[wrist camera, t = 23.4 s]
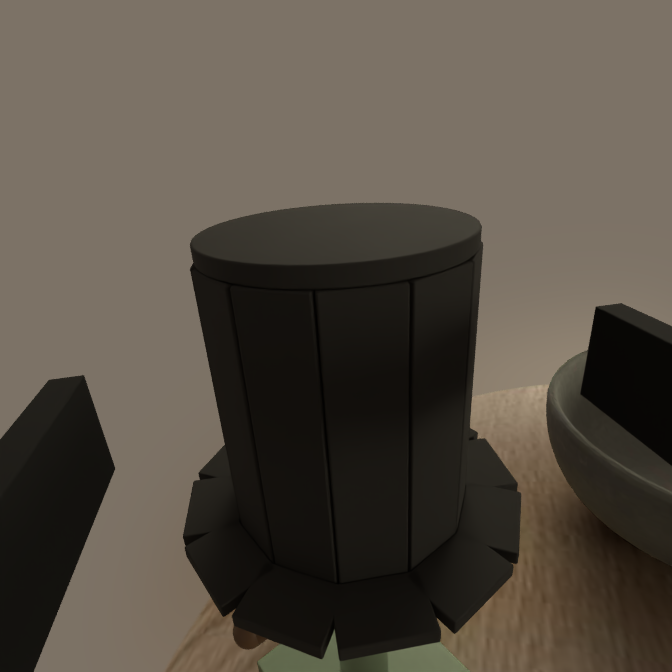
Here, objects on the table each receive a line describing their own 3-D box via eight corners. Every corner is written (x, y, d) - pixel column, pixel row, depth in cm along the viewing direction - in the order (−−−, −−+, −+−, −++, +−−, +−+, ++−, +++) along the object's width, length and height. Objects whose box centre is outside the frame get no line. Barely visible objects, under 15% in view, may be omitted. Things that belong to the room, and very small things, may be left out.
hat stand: (322, 883, 18) (220, 341, 8) (229, 703, 24) (106, 264, 14) (498, 672, 24) (557, 226, 14) (390, 571, 30) (381, 206, 20)
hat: (317, 776, 10) (254, 364, 6) (143, 484, 20) (67, 235, 15) (586, 499, 17) (649, 213, 13) (364, 379, 26) (356, 188, 22)
